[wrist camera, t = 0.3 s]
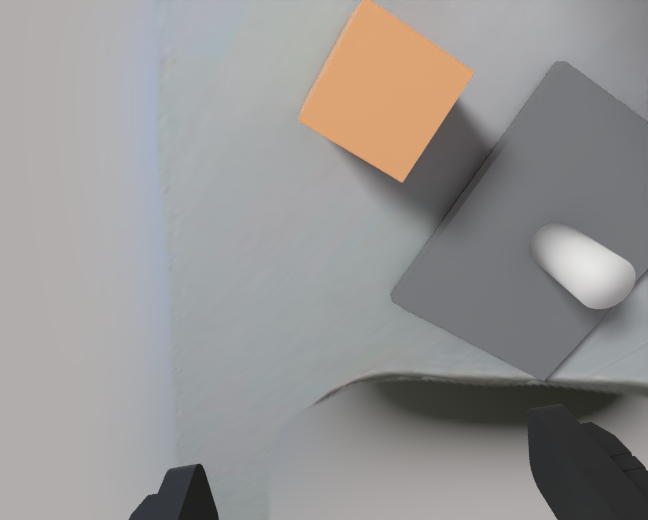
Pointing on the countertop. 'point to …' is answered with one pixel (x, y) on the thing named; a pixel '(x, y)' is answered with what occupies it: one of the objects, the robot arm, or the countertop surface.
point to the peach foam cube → (383, 91)
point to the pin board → (512, 204)
